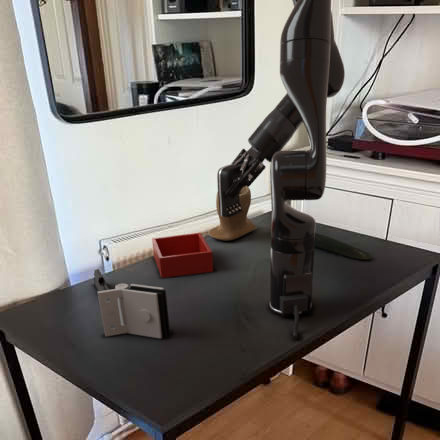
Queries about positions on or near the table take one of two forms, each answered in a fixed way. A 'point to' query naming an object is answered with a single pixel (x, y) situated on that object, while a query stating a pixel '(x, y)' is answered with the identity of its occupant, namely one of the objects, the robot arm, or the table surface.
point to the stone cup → (234, 220)
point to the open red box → (182, 255)
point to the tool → (339, 247)
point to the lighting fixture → (100, 282)
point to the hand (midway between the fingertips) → (225, 192)
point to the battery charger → (225, 181)
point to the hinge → (135, 310)
